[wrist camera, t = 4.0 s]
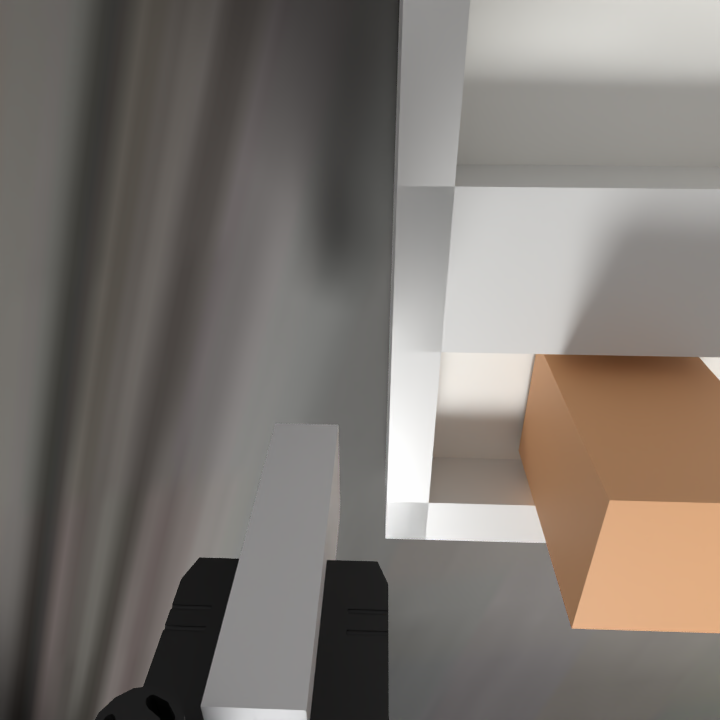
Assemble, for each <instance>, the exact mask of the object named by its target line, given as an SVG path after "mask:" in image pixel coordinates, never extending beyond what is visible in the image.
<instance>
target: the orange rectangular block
mask: <svg viewBox="0 0 720 720" xmlns="http://www.w3.org/2000/svg"><path fill="white" fill-rule="evenodd" d="M519 454H520V457H521V460H522V464H523V467H524V470H525V474H526V477H527V480H528V484H529V487H530V491H531V494H532V497H533V501H534V504H535V507H536V511H537V514H538V517H539V521H540V524H541V527H542V531H543V534H544V537H545V541H546V544H547V547H548V551H549V554H550V557H551V561H552V564H553V568H554V571H555V574H556V578H557V581H558V584H559V588H560V591H561V594H562V598H563V601H564V604H565V608H566V611H567V614H568V618H569V621H570V624H571V628H574V629H605V630H636V631H667V632H698V633H720V380H719V379H718V378H717V377H716V376H715V375H714V373H713V372H712V371H711V370H710V369H709V368H708V367H707V366H706V364H705V363H704V362H703V361H702V360H701V359H700V358H699V357H670V356H616V355H562V354H536V356H535V361H534V367H533V372H532V378H531V384H530V389H529V395H528V400H527V406H526V412H525V417H524V423H523V428H522V434H521V440H520V445H519Z"/></svg>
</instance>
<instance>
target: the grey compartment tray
mask: <svg viewBox="0 0 720 720" xmlns="http://www.w3.org/2000/svg"><path fill="white" fill-rule="evenodd" d="M536 354H562V355H616V356H670V357H699V358H700V359H701V360H702V361H703V362H704V363H705V364H706V366H707V367H708V368H709V369H710V370H711V371H712V372H713V373H714V375H715V376H716V377H717V378H718V379H719V380H720V0H400V6H399V39H398V72H397V106H396V139H395V172H394V205H393V238H392V271H391V304H390V337H389V370H388V404H387V437H386V470H385V491H386V538H389V539H424V540H460V541H496V542H531V543H546V541H545V537H544V534H543V531H542V527H541V524H540V521H539V517H538V514H537V511H536V507H535V504H534V501H533V497H532V494H531V491H530V487H529V484H528V480H527V477H526V474H525V470H524V467H523V464H522V460H521V457H520V454H519V445H520V440H521V434H522V428H523V423H524V417H525V412H526V406H527V400H528V395H529V389H530V384H531V378H532V372H533V367H534V361H535V356H536Z"/></svg>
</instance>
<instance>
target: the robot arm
mask: <svg viewBox="0 0 720 720" xmlns="http://www.w3.org/2000/svg"><path fill="white" fill-rule="evenodd" d="M339 518H340V472H339V428H338V425H329V424H287V423H275V425H274V429H273V433H272V436H271V440H270V444H269V448H268V452H267V455H266V459H265V463H264V467H263V471H262V474H261V478H260V482H259V486H258V490H257V493H256V497H255V501H254V505H253V509H252V512H251V516H250V520H249V524H248V528H247V531H246V535H245V539H244V543H243V547H242V550H241V554H240V558H239V559H229V558H199V559H198V560H197V561H196V562H195V563H194V565H193V566H192V567H191V568H190V569H189V571H188V572H187V573H186V574H185V575H184V577H183V578H182V579H181V581H180V584H179V587H178V590H177V593H176V596H175V598H174V601H173V604H172V605H173V606H172V609H171V610H170V613H169V615H168V618H167V621H166V624H165V630H163V632H162V635H161V638H160V641H159V644H158V646H157V649H156V652H155V655H154V658H153V661H152V663H151V666H150V669H149V672H148V675H147V677H146V680H145V683H144V686H143V687H140V688H133V689H131V690H129V691H127V692H125V693H123V694H122V695H120V696H118V697H116V698H114V699H113V700H112V701H111V702H110V703H109V704H108V705H107V706H106V707H105V708H104V709H103V710H101V711H100V712H99V714H98V715H97V717H96V719H95V720H389V716H388V583H387V581H386V579H385V577H384V575H383V573H382V570H381V568H380V566H379V564H378V562H373V561H340V560H336V552H337V541H338V529H339Z"/></svg>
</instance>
